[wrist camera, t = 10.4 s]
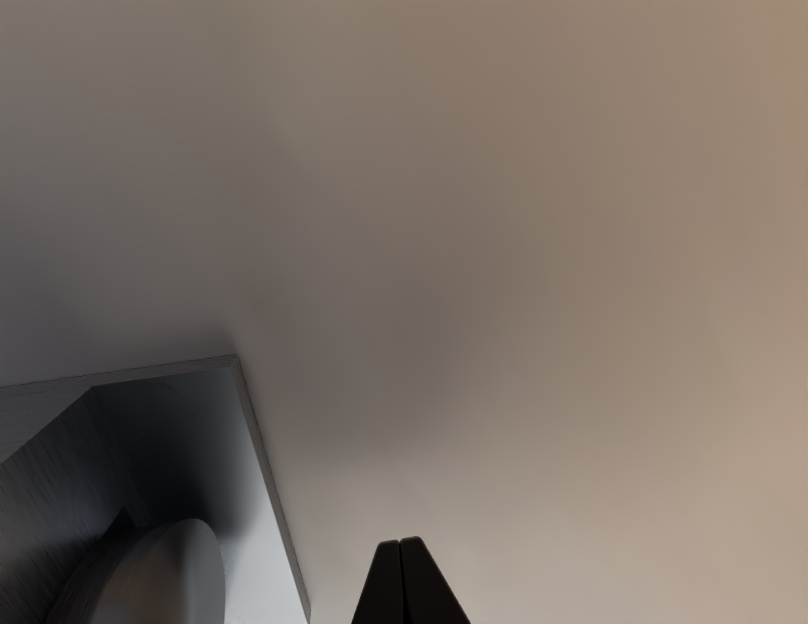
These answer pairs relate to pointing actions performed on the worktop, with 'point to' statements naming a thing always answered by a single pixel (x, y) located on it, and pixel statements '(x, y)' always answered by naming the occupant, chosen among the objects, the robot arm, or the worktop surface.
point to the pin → (147, 579)
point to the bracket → (140, 482)
